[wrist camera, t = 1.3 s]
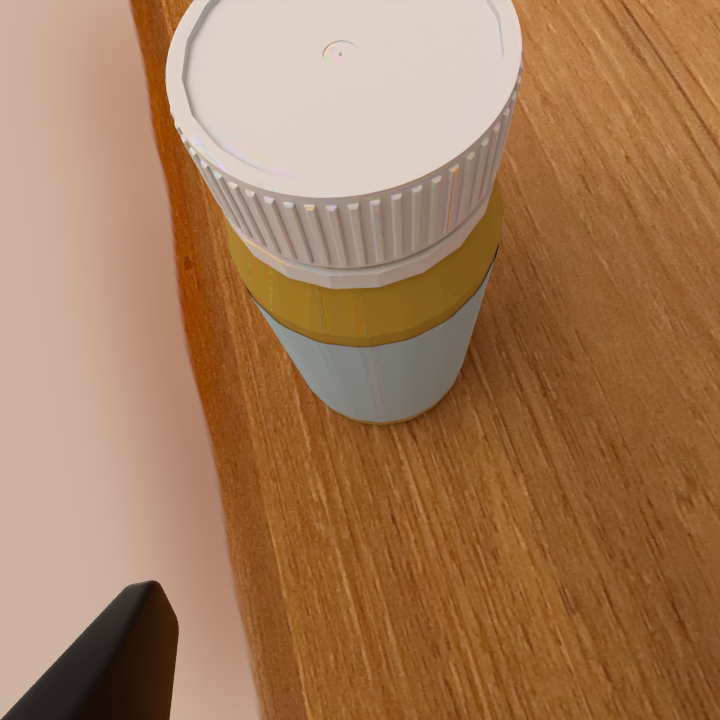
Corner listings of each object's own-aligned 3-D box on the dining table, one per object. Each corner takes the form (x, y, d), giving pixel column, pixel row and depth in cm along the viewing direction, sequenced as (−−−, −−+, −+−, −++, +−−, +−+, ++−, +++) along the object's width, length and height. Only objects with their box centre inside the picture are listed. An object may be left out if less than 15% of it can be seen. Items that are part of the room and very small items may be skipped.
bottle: (293, 293, 24) (135, -51, 10) (443, 265, 24) (493, -124, 10) (313, 441, 22) (142, 263, 8) (479, 412, 22) (610, 175, 8)
